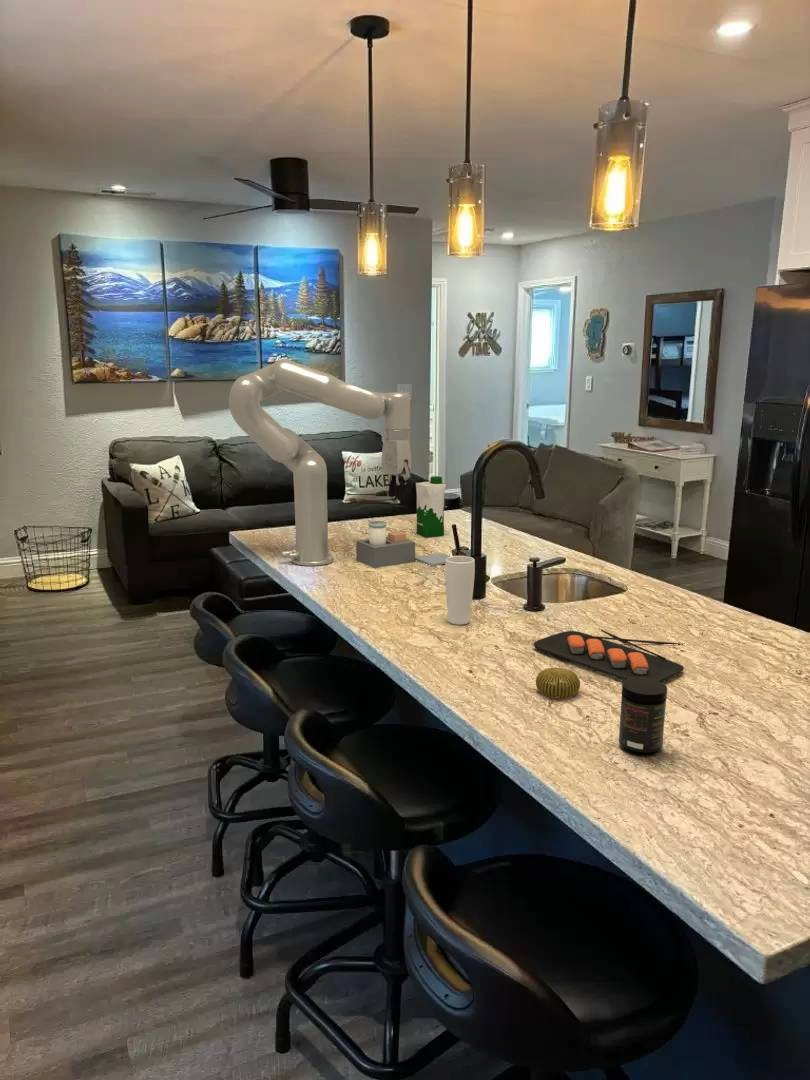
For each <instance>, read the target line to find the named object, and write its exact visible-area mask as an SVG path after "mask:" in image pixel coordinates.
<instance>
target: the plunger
mask: <svg viewBox="0 0 810 1080" xmlns="http://www.w3.org/2000/svg"><path fill="white" fill-rule="evenodd" d="M387 537H388V540H390V541H392V542H400V541H406V539H407V533H404V532H402V531H392V532H387Z"/></svg>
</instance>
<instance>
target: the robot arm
mask: <svg viewBox="0 0 810 1080" xmlns="http://www.w3.org/2000/svg"><path fill="white" fill-rule="evenodd" d="M284 391H285V392H289V393H292V394H294V395H298V396H300V397H303V398H305V399H308V400H310V401H311V400H312V401H315V402H317V403H319V404H323V405H324V406H328V407H329V406H330V407H333V408H335V409H339V410H341V411H344V412H346V413H350V414H352V415H356V416H359V417H361V418H364V419H367V420H376V419H377V420H378V419H379V418H380V417H384V420H383V421H384V422H383V423H384V424H383V427H384V428H383V430H384V431H383V434H384V437H383V443H382V449H381V450H382V451H381V471H382V472H383V473H384V474H385V475H386V477H387V483H388V496H389V497H391V498H395V499H396V500H398V499H404V498H406V485H407V481H408V480H409V479H410V478H411V472H412V452H411V442H410V440H411V430H410V429H411V397H410V394H408V393H406V392H397V391H396V392H395V391H394V392H386V393H385V392H377V391H370V390H367V389H364V388H361V387H359V386H356V385H353V384H350V383H348V382H345V381H344V380H341V379H340V378H338V377H336V376H334V375H332V374H330V373H328V372H324V371H321V370H318V369H315V368H313V367H311V366H310V367H309V366H308V365H304V364H302V363H298V362H296V361H293V360H291V359H287V358H281V359H278V360H276V361H275V362H274V363H271V364H270V365H267V366H265V367H263V368H260V369H258V370H255V371H253V372H251V373H248V374H245V375H242V376H239V377H238V378H237V379H235V381H234V382H233V384H232V386H231V389H230V393H229V398H228V406H229V411H230V414H231V416H232V418H233V420H234V422H235V423H236V424H237V426H238V427H239V428H240V429H241V431H243V432H244V433H245V434H246V435H247V436H249V437H250V438H251V440H252V441H253V442H254V443H255V444H256V445H258V446H259V447H260V448H261V449H262V450H263V451H264V452H265V453H266V454H267V455H268V456H270V458H271V459H272V460H274V461H275V462H278V463H281V464H282V465H284V466H285V467H286V468H287V469H288V470H289V471H291V472H292V473H293V477H292V478H293V491H294V492H293V493H294V516H295V517H294V519H295V520H294V522H295V525H294V526H295V546H292V548H291V549H290V550H282V551H280V557H281V558H282V559H285V558H288V559H290V561H291V563H292V564H294V565H297V566H306V567H307V566H308V567H309V566H310V567H311V566H312V567H315V566H323V565H328V564H330V563H333V561H334V555H333V554H331V553H329V534H328V533H329V530H328V529H329V528H328V527H329V526H328V471H327V464H326V462H325V461H326V460H325V459H324V458H323V457H322V456H321V455H320V454H319V453H318V452H317V451H316V450H315V449H314V448H313V447H312V446H310V445H309V444H308V443H307V442H306V441H305V440H304V439H303V438H302V437H301V435H298V433H296V432H295V431H293V430H292V429H290V428H287V427H284V426H282V425H280V423H279V422H278V421H276V420H275V419H274V418H273V417H272V416H271V415H270V414H269V413H268V412H267V411H265V409H263V408H262V406H261V403H260V402H262V401H264V400H267V399H268V398H271V397H273V396H276V395H277V394H280V393H282V392H284Z"/></svg>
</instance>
